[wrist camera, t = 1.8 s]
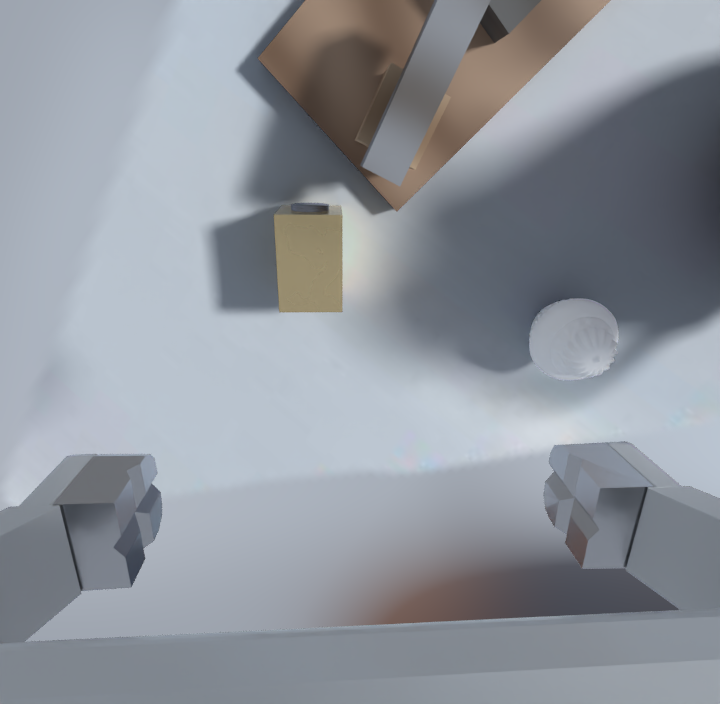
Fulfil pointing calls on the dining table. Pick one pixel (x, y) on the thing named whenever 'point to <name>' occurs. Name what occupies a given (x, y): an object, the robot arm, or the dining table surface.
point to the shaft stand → (414, 74)
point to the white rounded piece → (573, 339)
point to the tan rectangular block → (309, 257)
